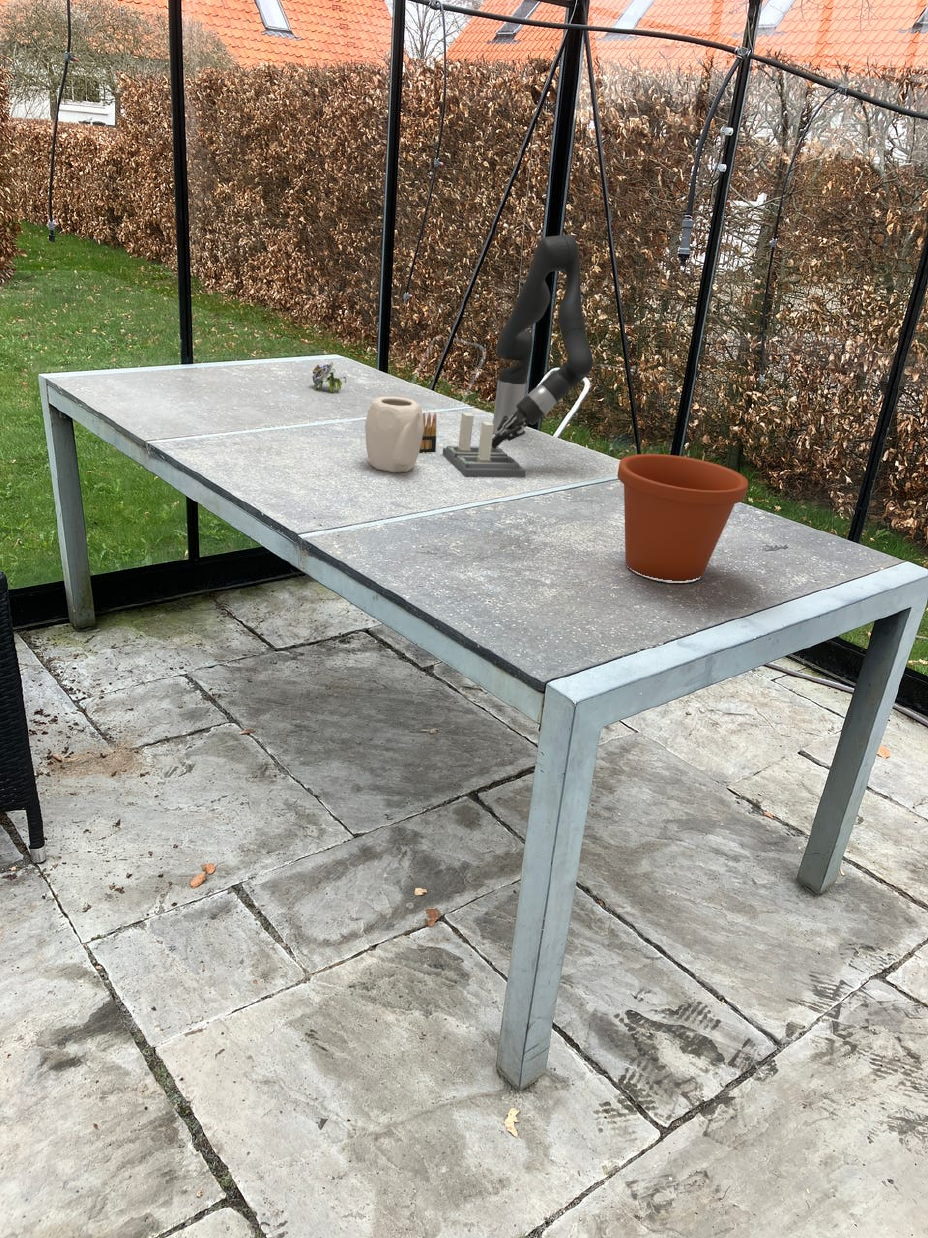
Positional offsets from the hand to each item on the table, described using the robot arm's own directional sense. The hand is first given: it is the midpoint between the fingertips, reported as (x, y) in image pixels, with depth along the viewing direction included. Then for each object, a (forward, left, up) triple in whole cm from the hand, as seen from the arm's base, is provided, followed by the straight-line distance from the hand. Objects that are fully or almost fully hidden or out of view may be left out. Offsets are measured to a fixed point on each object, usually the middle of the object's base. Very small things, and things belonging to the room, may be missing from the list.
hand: (491, 445), depth 277 cm
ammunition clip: (-18, -16, -8) cm, 25 cm away
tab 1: (-10, -4, -5) cm, 12 cm away
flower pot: (+75, +16, -8) cm, 77 cm away
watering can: (-1, -28, -8) cm, 29 cm away
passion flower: (-98, -28, -8) cm, 102 cm away
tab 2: (0, -2, -5) cm, 5 cm away
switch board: (-5, 0, -7) cm, 9 cm away
